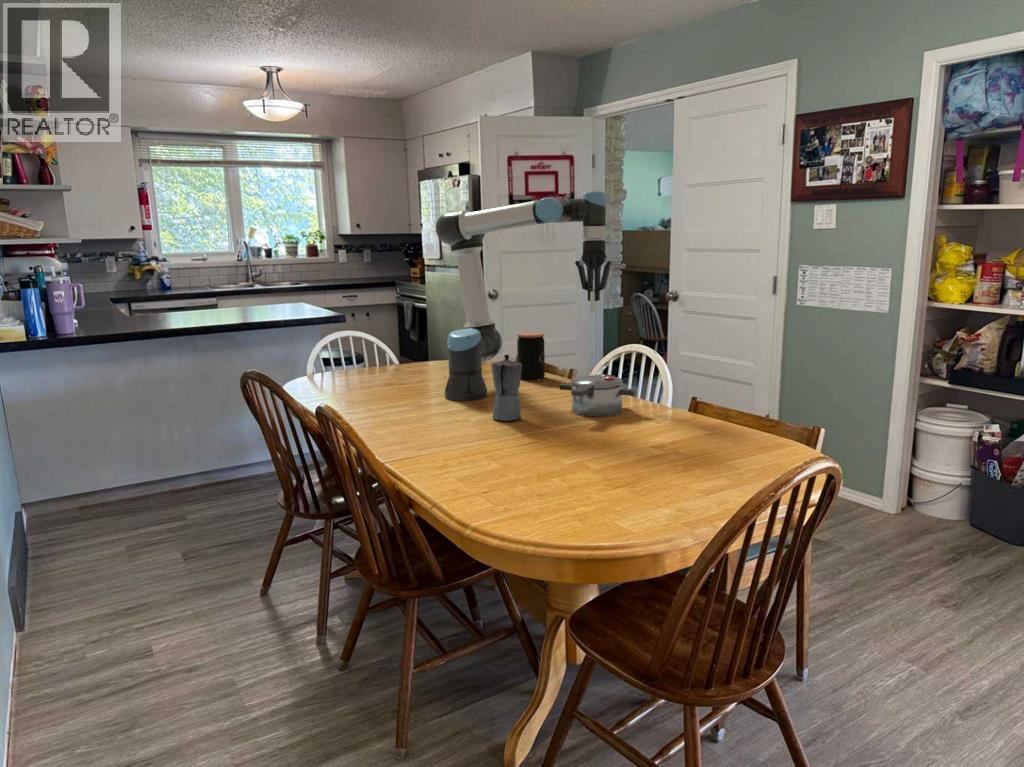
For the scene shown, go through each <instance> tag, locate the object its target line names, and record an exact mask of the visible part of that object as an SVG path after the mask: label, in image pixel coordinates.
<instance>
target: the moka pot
mask: <svg viewBox="0 0 1024 767" xmlns="http://www.w3.org/2000/svg"><path fill="white" fill-rule="evenodd" d="M503 357H504V360H500V361H495V362H492V363H491V372H492V379H493V387H494V390H495V391H494V393H495V397H494V403H493V404H494V405H493V410H492V419H493V420H495V421H503V422H507V421H509V422H511V421H518V420H520V419H521V418H522V414H521V406H520V399H519V398H520V397H519V389H520V386H521V379H520V378H521V370H522V364H521V363H519V362H518V361H514V360H510V359H509V358H510V355H509V354H505V355H504V356H503Z"/></svg>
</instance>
